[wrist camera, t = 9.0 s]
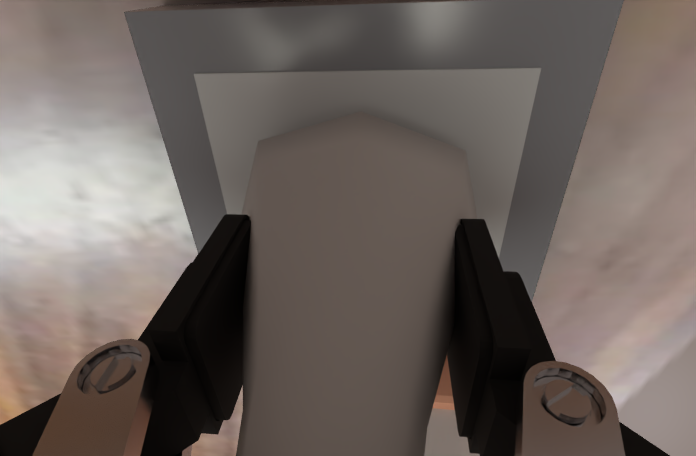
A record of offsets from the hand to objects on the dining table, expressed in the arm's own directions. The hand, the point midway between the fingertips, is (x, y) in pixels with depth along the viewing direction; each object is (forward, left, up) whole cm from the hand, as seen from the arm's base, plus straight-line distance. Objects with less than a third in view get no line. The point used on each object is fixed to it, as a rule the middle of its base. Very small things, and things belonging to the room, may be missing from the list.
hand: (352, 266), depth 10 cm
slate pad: (0, 0, -5) cm, 5 cm away
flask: (0, 0, -2) cm, 2 cm away
